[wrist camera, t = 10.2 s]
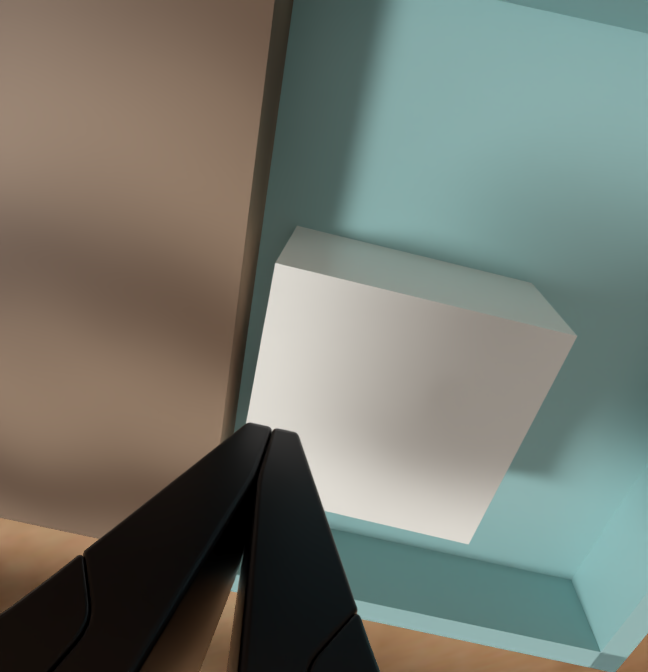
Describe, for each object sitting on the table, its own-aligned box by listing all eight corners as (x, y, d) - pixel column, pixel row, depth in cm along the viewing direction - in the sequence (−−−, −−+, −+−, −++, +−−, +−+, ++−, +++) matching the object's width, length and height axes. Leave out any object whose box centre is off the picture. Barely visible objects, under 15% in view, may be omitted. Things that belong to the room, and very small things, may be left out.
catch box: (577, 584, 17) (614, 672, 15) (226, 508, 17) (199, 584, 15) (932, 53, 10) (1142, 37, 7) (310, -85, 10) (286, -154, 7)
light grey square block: (450, 462, 15) (468, 544, 12) (259, 417, 15) (233, 489, 12) (531, 282, 12) (577, 336, 9) (297, 225, 12) (275, 263, 9)
